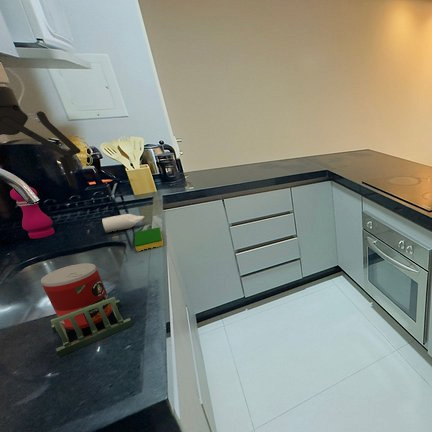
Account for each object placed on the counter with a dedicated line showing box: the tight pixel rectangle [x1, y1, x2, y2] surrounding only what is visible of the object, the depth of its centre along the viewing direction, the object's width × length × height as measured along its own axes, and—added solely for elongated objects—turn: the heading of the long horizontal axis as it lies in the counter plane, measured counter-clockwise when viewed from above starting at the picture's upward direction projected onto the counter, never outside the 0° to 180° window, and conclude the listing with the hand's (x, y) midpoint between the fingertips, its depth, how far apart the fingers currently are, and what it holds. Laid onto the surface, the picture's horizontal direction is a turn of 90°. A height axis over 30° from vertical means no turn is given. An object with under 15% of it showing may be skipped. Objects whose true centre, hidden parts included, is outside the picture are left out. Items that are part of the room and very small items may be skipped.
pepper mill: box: [9, 186, 56, 240], centre depth 104 cm, size 7×7×20 cm
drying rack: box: [50, 296, 133, 358], centre depth 61 cm, size 11×11×8 cm
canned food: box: [40, 262, 113, 330], centre depth 60 cm, size 8×8×11 cm
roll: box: [101, 213, 145, 234], centre depth 112 cm, size 6×12×6 cm, turn 127°
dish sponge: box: [134, 227, 164, 252], centre depth 102 cm, size 7×14×2 cm, turn 38°
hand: (29, 191), depth 64 cm, fingers open, 13 cm apart
